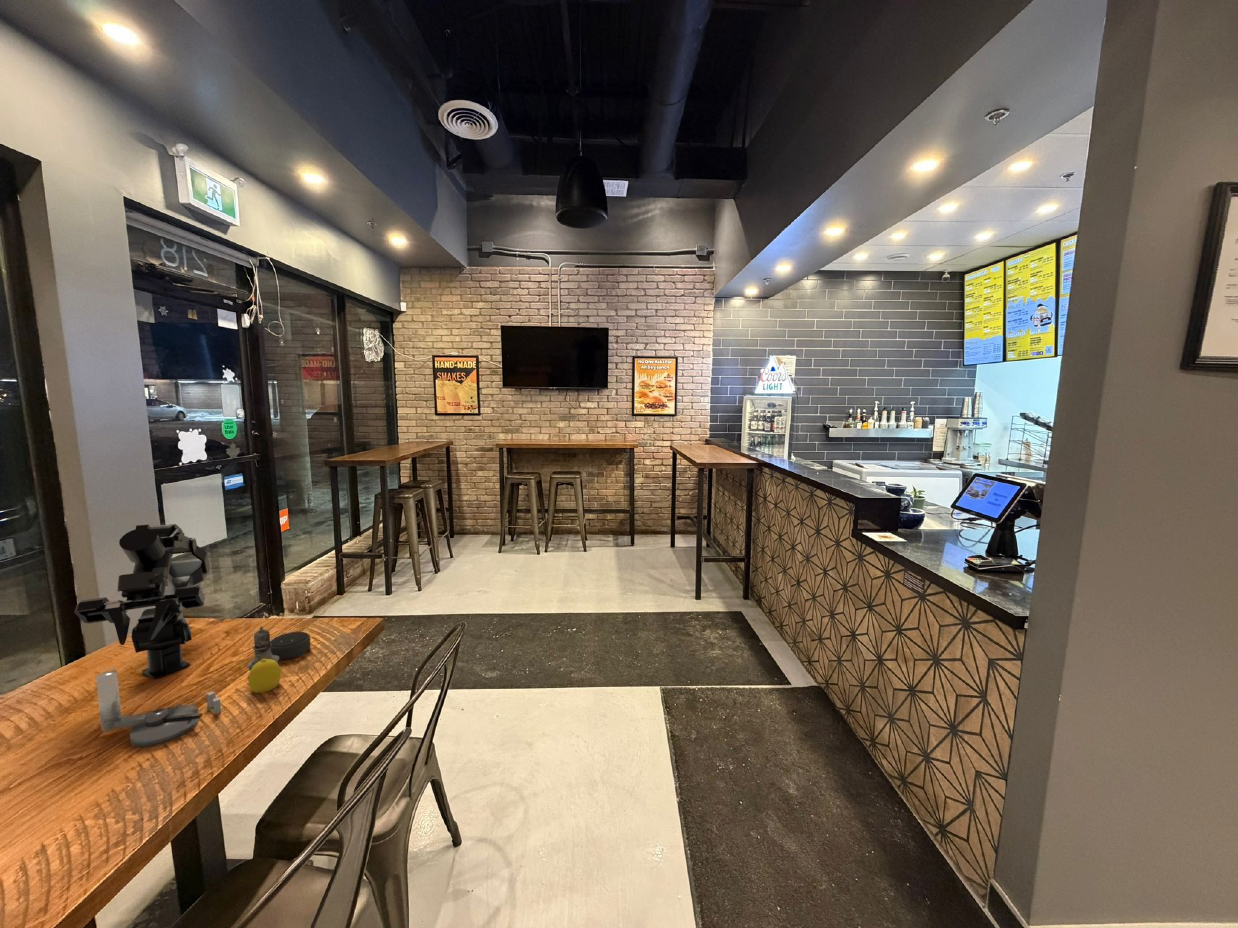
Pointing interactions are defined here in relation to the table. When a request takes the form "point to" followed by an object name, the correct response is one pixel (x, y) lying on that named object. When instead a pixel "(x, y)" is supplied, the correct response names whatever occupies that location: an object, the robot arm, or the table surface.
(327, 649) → the table surface
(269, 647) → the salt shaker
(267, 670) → the lemon
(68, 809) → the table surface
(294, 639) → the smart speaker
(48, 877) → the table surface
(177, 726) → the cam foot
